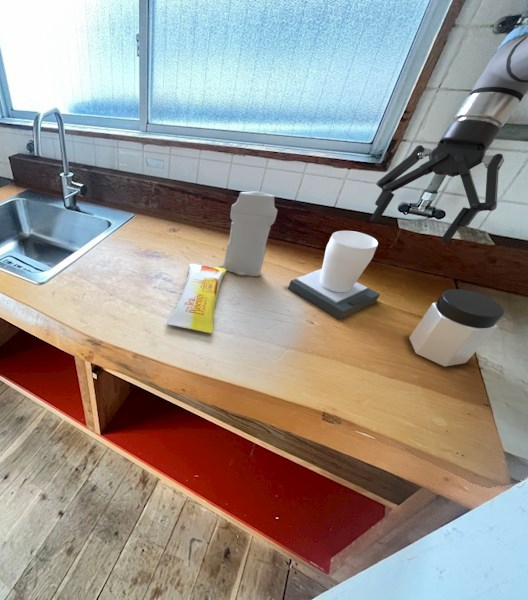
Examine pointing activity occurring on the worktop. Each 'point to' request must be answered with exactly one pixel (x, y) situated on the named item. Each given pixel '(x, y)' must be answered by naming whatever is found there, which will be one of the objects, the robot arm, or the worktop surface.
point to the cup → (346, 259)
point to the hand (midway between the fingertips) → (406, 230)
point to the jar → (455, 327)
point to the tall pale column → (249, 232)
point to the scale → (333, 295)
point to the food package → (198, 299)
